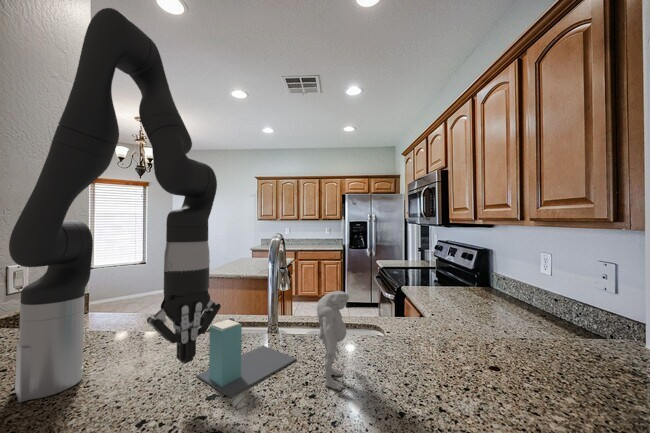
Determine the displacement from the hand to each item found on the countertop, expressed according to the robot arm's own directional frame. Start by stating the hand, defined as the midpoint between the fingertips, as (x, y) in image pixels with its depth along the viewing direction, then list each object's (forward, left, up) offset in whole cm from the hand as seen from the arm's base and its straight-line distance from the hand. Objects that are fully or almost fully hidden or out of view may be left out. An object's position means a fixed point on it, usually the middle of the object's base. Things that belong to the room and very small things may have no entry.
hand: (186, 361), depth 50 cm
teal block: (+8, 0, -7) cm, 11 cm away
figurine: (+21, -18, -7) cm, 29 cm away
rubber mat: (+14, 0, -7) cm, 16 cm away
